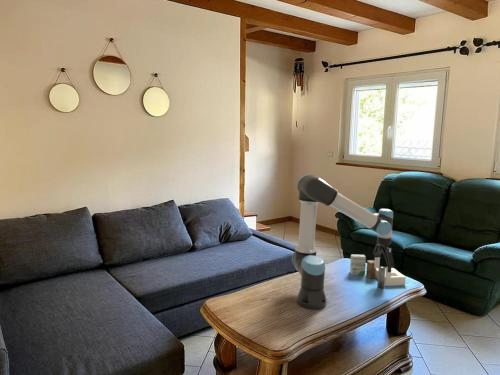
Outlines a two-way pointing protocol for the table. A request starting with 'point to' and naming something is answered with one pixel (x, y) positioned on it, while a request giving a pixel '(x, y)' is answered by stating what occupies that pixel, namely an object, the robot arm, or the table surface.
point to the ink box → (357, 264)
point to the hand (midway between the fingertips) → (382, 272)
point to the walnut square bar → (370, 269)
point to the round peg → (381, 277)
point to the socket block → (393, 278)
